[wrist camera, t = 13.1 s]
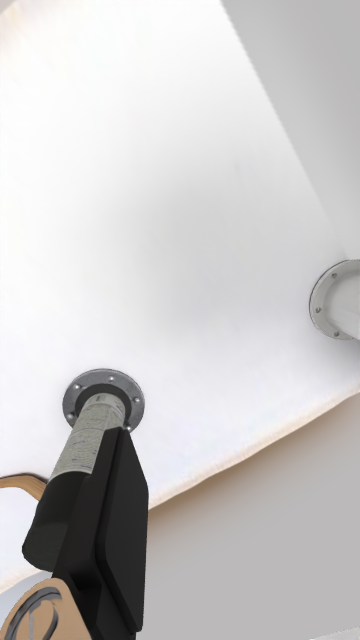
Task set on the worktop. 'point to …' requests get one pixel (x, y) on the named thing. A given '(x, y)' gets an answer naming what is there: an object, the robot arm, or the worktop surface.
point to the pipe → (25, 485)
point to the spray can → (70, 479)
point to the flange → (104, 383)
